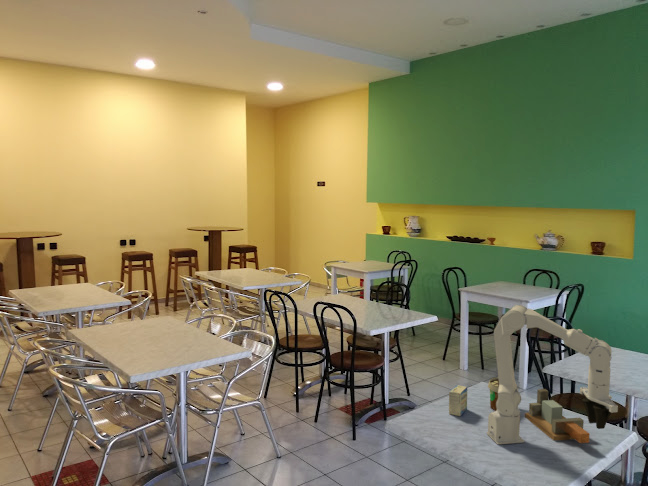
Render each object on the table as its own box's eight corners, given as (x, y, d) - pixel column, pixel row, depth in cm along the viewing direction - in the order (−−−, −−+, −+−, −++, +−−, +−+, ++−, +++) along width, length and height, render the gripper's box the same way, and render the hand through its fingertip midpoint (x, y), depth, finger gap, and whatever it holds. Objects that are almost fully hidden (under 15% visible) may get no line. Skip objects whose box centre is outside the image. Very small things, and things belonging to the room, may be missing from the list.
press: (553, 440, 169) (555, 411, 168) (524, 416, 186) (525, 390, 185) (587, 438, 170) (589, 408, 169) (555, 414, 188) (556, 388, 187)
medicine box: (460, 417, 187) (460, 393, 186) (448, 414, 189) (448, 391, 188) (467, 409, 193) (467, 386, 192) (455, 406, 196) (456, 384, 195)
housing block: (551, 424, 177) (551, 407, 176) (541, 416, 183) (542, 400, 182) (561, 423, 177) (562, 406, 177) (551, 416, 183) (552, 399, 183)
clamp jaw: (570, 445, 162) (570, 433, 161) (551, 431, 171) (552, 419, 171) (599, 443, 163) (599, 431, 163) (579, 428, 173) (579, 417, 172)
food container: (493, 399, 202) (493, 374, 201) (509, 403, 199) (509, 377, 198) (482, 410, 192) (483, 384, 191) (499, 414, 189) (500, 387, 188)
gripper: (628, 390, 149) (625, 435, 150) (595, 372, 163) (592, 414, 164) (605, 392, 148) (603, 437, 149) (574, 374, 162) (572, 415, 163)
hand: (596, 425), depth 157 cm, fingers open, 3 cm apart
